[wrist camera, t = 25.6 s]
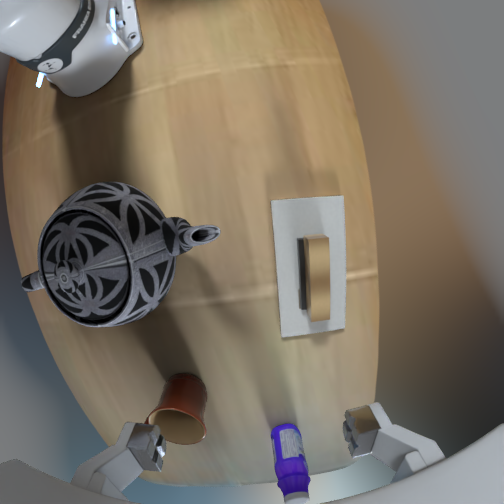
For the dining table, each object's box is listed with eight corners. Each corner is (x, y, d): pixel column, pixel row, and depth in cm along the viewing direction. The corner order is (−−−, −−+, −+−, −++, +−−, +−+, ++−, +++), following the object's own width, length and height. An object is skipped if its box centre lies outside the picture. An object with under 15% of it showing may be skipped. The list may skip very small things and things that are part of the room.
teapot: (245, 284, 39) (245, 337, 24) (75, 319, 40) (27, 363, 25) (210, 150, 35) (189, 124, 20) (41, 214, 36) (-22, 228, 21)
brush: (296, 234, 36) (302, 239, 32) (324, 231, 37) (334, 236, 32) (300, 310, 39) (306, 323, 35) (326, 306, 39) (335, 318, 35)
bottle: (303, 437, 47) (318, 503, 30) (277, 444, 47) (285, 511, 30) (294, 418, 45) (310, 490, 28) (266, 425, 45) (273, 498, 28)
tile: (270, 200, 36) (270, 200, 35) (341, 195, 37) (343, 195, 36) (280, 334, 41) (281, 337, 40) (342, 325, 41) (345, 328, 40)
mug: (191, 359, 42) (179, 401, 31) (222, 394, 43) (218, 436, 33) (140, 383, 43) (122, 421, 33) (171, 413, 44) (160, 452, 34)
